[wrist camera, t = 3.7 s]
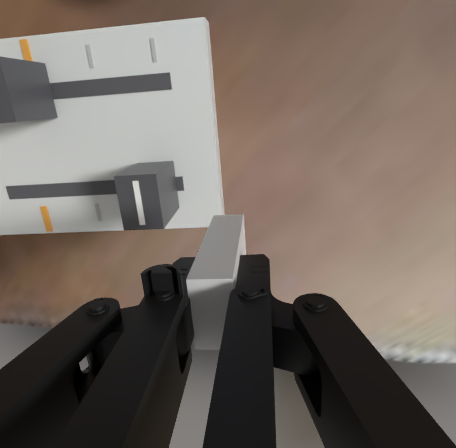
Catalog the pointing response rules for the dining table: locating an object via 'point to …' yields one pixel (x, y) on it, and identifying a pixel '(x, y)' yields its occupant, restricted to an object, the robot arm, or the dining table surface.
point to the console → (112, 126)
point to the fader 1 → (24, 91)
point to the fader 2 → (147, 195)
